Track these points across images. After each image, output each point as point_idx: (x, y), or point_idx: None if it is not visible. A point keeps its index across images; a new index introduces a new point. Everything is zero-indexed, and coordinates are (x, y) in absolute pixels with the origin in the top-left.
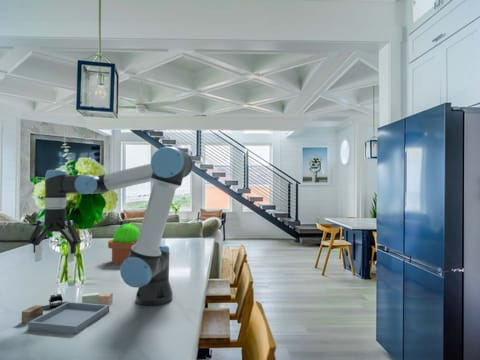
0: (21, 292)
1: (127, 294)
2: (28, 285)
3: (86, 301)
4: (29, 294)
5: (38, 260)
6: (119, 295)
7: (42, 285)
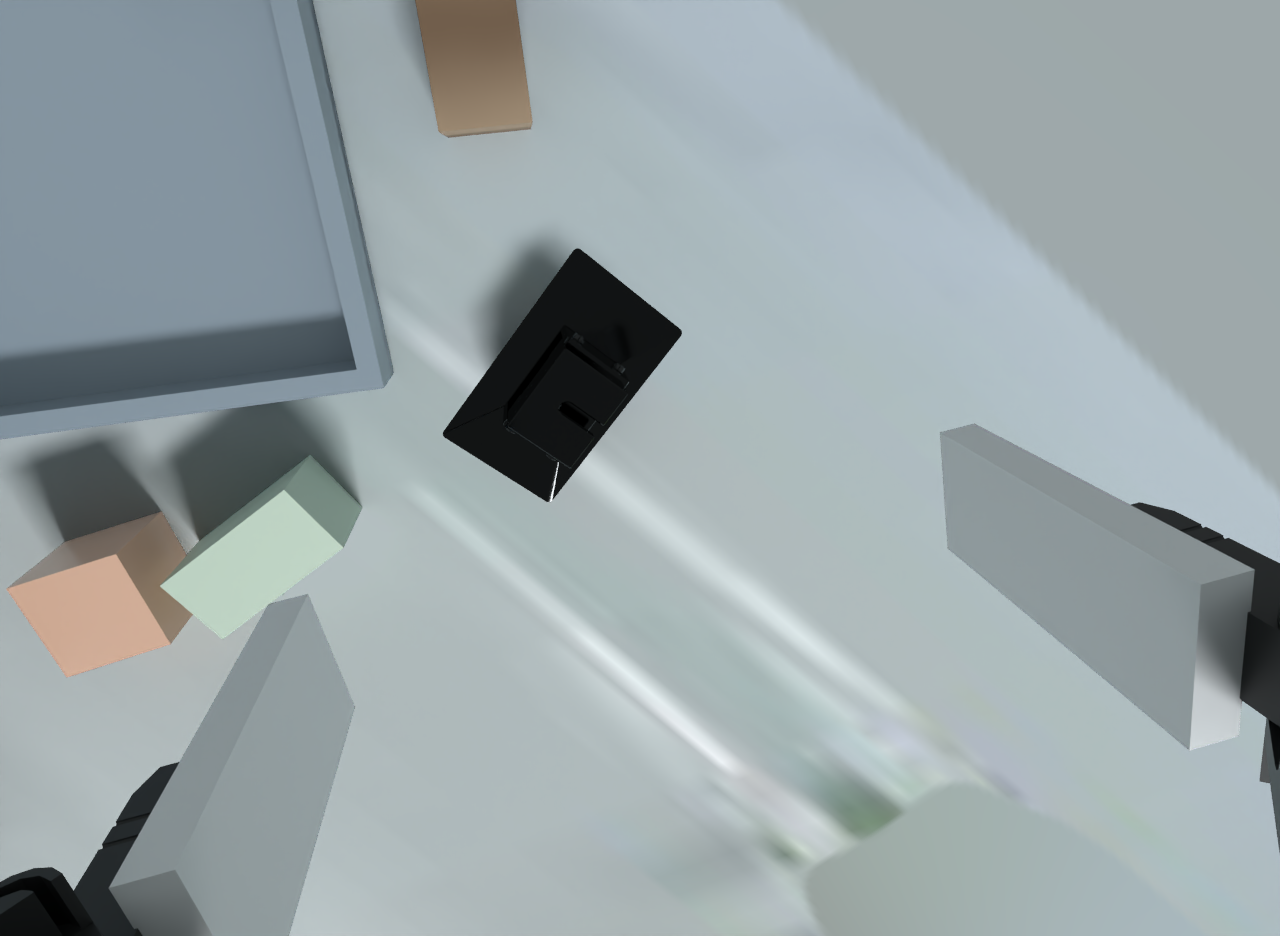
0: None
1: None
2: None
3: (269, 493)
4: None
5: (952, 482)
6: None
7: (1073, 697)
